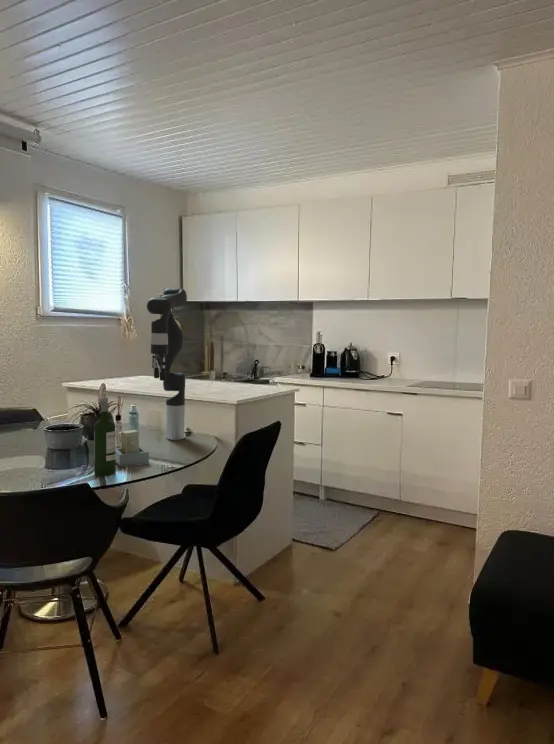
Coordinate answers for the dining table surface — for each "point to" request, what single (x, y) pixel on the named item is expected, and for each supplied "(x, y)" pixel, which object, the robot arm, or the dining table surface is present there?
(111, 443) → the wine bottle
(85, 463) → the dining table surface
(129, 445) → the skincare box
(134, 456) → the ceramic holder
